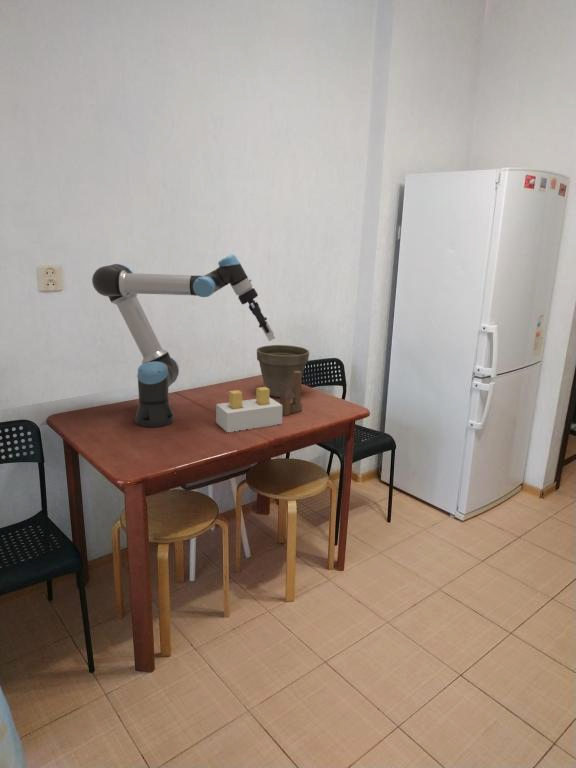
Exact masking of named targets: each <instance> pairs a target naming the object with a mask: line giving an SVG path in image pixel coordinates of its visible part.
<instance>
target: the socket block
mask: <svg viewBox="0 0 576 768" xmlns="http://www.w3.org/2000/svg"><path fill="white" fill-rule="evenodd" d="M282 407H283V405H281V404H279V402H278V401H276V400H275V399H273V398H271V397H270V396H269V404H268V405H258V404H257V403H256V398H253V399H246V400H242V408H239V409H231V408H230V407H229V402H221V403H216V405H215V413H216V414H215V415H216V418H215V423H216V424H217V425H218V426H219V427H220V428H222V430H224V431H225V432H226V433H227V434H228V432H229V433H234V431H235V432H240V431H239V430H241V431H246V429H248V430H253V428H254V429H260V428H264V427H265V428H266V427H270V426H272V427H273V426H278V424H279V425H283V415H282Z"/></svg>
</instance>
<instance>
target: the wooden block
mask: <svg viewBox="0 0 576 768" xmlns="http://www.w3.org/2000/svg"><path fill="white" fill-rule="evenodd" d="M302 376H303V375H302V372H301V371H294V372H293V392H292V391H291V390H290V389H289V388H288V387H287V385H286V384H283V383H280V394H279V397H278V398H279V400H278V401H279V402H278V403H279V404H281V405H283V407H282V417H283V416H284V417H286V416H290V415H291V414H295V413H299V412H302V410H303V403H302V402H301V401H302V399H301V398H302V397H301V396H302V378H301V377H302Z"/></svg>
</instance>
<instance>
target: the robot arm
mask: <svg viewBox="0 0 576 768" xmlns="http://www.w3.org/2000/svg"><path fill="white" fill-rule="evenodd" d="M91 280H92V281H91V282H92V286H93V288H94V290H95V291H96V292H97V293H98V294H100V295H101V296H104V297H107V298H109V301H110V302H111V304H114V305H116V306H117V308H118V310H119V312H120V315H121V316H122V317H123V321H124V322H125V325H126V326H127V328H128V330H129V332H130V334H131V336H132V338H133V340H134V342H135V343H136V346H137V347H138V350H139V352H140V354H141V356H142V361H141V364H140V365H139V366H138V369H137V375H136V376H137V377H136V378H137V386H138V387H137V388H138V389H137V390H138V406H137V409H136V413H135V417H134V418H135V424H136V425H138V426H141V427H146V428H158V427H165V426H168V425H170V424H172V423H173V422H174V420H175V419H174V417H175V415H174V412H173V410H172V407H171V405H170V400H169V399H170V398H169V396H170V395H169V387H170V386H172V384H174V383H176V380H177V379H178V376H179V372H180V367H179V364H178V362H177V361H176V360H175V359H174V358H173V357H172V356H170V353H169V352H168V350H165V349H163V347H162V345H161V344H160V341H159V340H158V338H157V336H156V333H155V331H154V330H153V329H154V328H153V327H152V325H151V323H150V322H149V319H148V317H147V315H146V313H145V311H144V309H143V307H142V305H141V303H140V301H139V299H138V297H137V296H138V295H139V294H141V295H142V294H143V295H166V296H167V295H168V296H169V295H170V296H171V295H173V296H193V297H194V296H195V297H197V296H198V297H201V298H208V297H211V296H212V295H213V294H214V293H216V292H218V291H219V290H221V289H223V288H224V287H226V286H228V285H230V287H231V288H232V290H233V292H234V293H235V296H238V297H237V298H238V300H239V301H240V304H241V305H246V304H247V303H248V309H249V310H250V311H251V313H252V315H253V316H255V318H256V320H257V322H258V324H259V325H258V327H259V329H260V328H261V329H262V332H263V333H264V334H265V336H266V339H268V341H269V342H271V341H272V340H274V339H276V337H275V334H274V332H273V330H272V328H271V326H270V325H269V323H268V318H267V317H265V316H264V315H263V313H262V310H261V307H260V305H259V303H258V301H256V300H255V298H258V293H257V291H256V289H255V288H254V287H253V284H252V279H251V278H250V279H249V277H248V275H247V274H246V271H245V269H244V268H243V266H242V264H241V262H240V261H239V260H238V258H237V256H236V255H235V254H233V253H232V254H229V255H227V256H226V257H224V258H222V259H220V260H219V261H218V267H217V268H215V269H214V270H212V271H211V272H209V273H207V274H205V275H189V274H188V275H187V274H186V275H185V274H165V273H164V274H163V273H162V274H159V273H134V272H133V271H132V270H131V268H130V267H128V266H126V265H124V264H120V263H114V264H110V265H106V266H101V267H99V268H98V269H96V270H95V271H94V273H93V275H92V278H91Z"/></svg>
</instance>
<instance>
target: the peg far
mask: <svg viewBox="0 0 576 768" xmlns="http://www.w3.org/2000/svg"><path fill="white" fill-rule="evenodd" d="M255 390H256V397H255V399H256V403H257V404H258V405H268V404H269V397H270V389H268V388H266V387H265V386H263V387H262V386H261V387H256V389H255Z"/></svg>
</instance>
